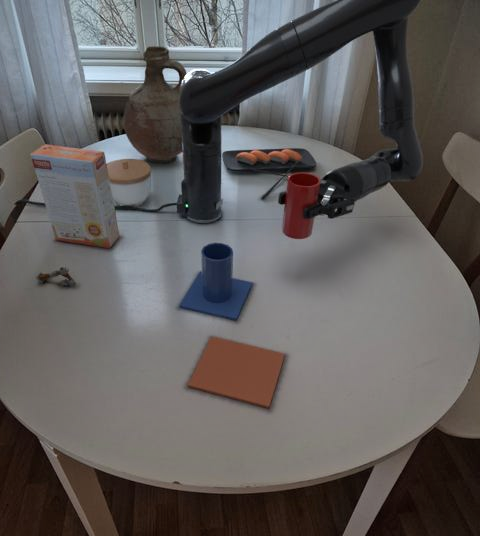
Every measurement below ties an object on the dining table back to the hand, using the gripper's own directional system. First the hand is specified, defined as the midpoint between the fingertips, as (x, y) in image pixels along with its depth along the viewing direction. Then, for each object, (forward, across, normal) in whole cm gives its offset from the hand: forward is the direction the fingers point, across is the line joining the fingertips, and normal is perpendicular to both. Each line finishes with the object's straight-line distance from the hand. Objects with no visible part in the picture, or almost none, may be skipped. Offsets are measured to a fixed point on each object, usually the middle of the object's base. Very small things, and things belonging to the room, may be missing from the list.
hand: (292, 206), depth 81 cm
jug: (-13, -71, +18) cm, 74 cm away
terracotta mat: (+24, +14, +18) cm, 33 cm away
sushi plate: (-34, -40, +18) cm, 56 cm away
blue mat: (+14, -4, +18) cm, 23 cm away
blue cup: (+14, -4, +18) cm, 23 cm away
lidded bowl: (+10, -50, +18) cm, 54 cm away
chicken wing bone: (+39, -28, +18) cm, 51 cm away
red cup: (-2, 0, +6) cm, 7 cm away
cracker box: (+27, -40, +18) cm, 51 cm away
